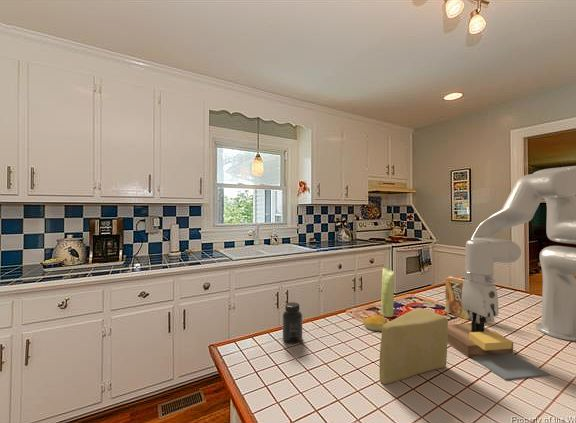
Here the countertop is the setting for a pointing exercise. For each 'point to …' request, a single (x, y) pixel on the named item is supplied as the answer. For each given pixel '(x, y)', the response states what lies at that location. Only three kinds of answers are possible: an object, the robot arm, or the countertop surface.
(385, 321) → the bread roll
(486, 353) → the brown wooden block
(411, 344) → the cheese
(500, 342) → the yellow block
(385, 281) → the tube
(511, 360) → the mat
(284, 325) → the supplement bottle
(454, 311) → the candy box
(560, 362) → the countertop surface
